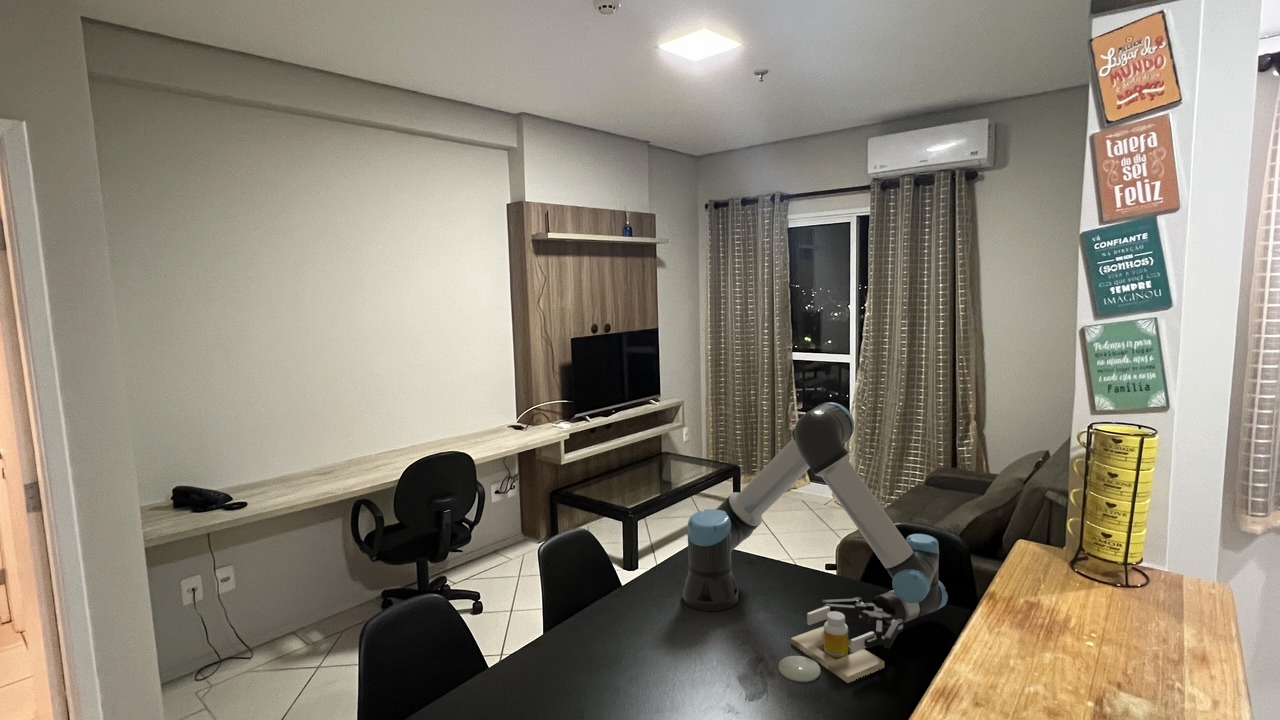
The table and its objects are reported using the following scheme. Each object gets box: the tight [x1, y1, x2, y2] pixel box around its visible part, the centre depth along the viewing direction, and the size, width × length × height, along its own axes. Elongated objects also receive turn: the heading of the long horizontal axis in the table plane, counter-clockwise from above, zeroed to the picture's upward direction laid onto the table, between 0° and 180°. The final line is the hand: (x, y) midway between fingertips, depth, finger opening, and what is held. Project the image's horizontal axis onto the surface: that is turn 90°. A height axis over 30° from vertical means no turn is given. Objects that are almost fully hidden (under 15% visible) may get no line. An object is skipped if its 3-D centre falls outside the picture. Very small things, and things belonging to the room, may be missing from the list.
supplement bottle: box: [823, 611, 849, 660], centre depth 147 cm, size 5×5×10 cm
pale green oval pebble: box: [778, 655, 821, 683], centre depth 143 cm, size 9×9×1 cm
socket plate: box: [790, 625, 885, 684], centre depth 148 cm, size 18×11×2 cm, turn 28°
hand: (829, 632), depth 146 cm, fingers open, 13 cm apart
